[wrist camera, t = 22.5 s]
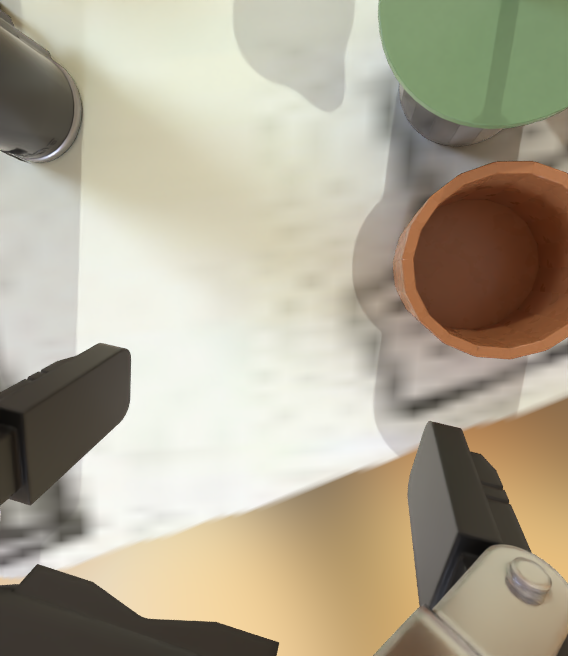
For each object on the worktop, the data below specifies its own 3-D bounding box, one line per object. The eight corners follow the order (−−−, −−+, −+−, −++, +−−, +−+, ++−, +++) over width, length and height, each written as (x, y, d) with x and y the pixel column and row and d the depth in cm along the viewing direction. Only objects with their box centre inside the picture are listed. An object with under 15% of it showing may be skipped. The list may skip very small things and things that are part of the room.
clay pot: (375, 220, 35) (378, 202, 26) (524, 169, 33) (587, 129, 23) (413, 352, 36) (430, 379, 27) (562, 313, 33) (638, 328, 24)
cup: (383, 46, 33) (391, -48, 24) (513, -11, 31) (580, -138, 22) (417, 165, 34) (437, 121, 24) (547, 118, 32) (626, 50, 22)
